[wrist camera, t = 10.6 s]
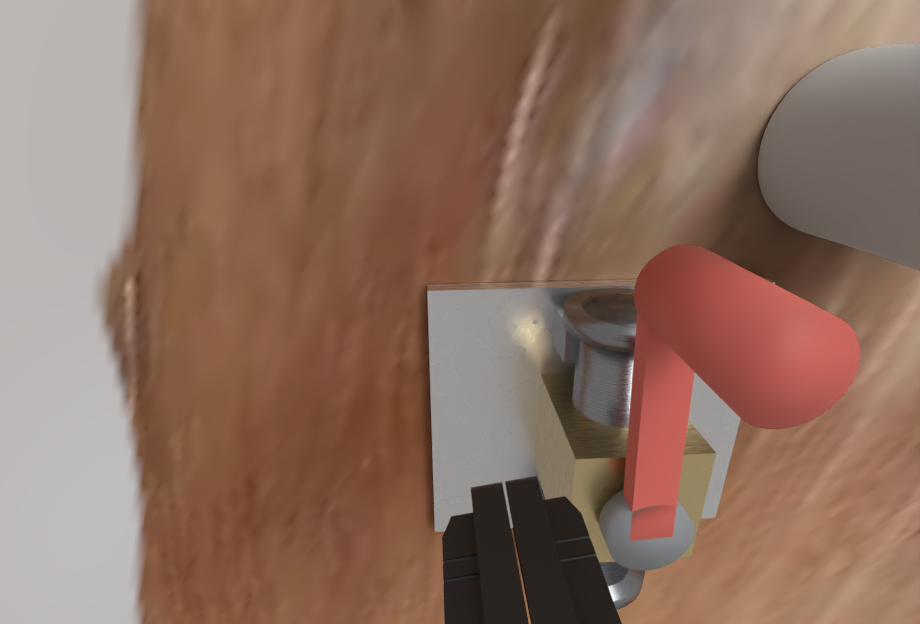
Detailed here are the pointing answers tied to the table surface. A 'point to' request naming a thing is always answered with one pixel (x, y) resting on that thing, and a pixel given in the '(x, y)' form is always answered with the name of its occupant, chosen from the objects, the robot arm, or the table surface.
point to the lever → (712, 382)
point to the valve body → (553, 403)
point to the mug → (850, 153)
